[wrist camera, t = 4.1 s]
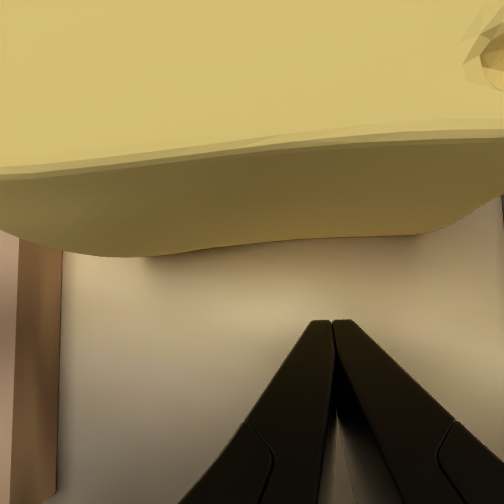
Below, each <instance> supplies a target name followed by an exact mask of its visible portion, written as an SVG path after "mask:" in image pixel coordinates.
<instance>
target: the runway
mask: <svg viewBox="0 0 504 504" xmlns="http://www.w3.org/2000/svg"><path fill="white" fill-rule="evenodd" d="M502 205H503V219H504V194H503V195H502ZM61 274H62V250H59V249H54V248H50V247H46V246H42V245H39V244H35V243H32V242H29V241H26V240H23V239H20V238H18V237H15V236H13V235H11V234H8V233H6V232H4V231H2V230H0V504H41V503H42V502H44V501H45V500H46V499H48V498H49V497H50V496H52V495H53V494H54V493H55V492H56V461H57V424H58V386H59V349H60V311H61Z"/></svg>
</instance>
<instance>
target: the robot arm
mask: <svg viewBox="0 0 504 504" xmlns="http://www.w3.org/2000/svg"><path fill="white" fill-rule="evenodd" d="M337 420H338V426H339V431H340V436H341V440H342V445H343V449H344V454H345V458H346V463H347V467H348V472H349V476H350V481H351V485H352V489H353V494H354V498H355V503H356V504H504V462H502V461H501V460H500V459H499V458H498V457H497V456H496V455H494V454H493V453H492V452H491V451H490V450H489V449H488V448H487V447H486V446H485V445H483V444H482V443H481V442H480V441H479V440H478V439H477V438H476V437H475V436H473V435H472V434H471V433H470V432H469V431H468V430H467V429H466V428H465V427H464V426H463V425H462V424H461V423H460V422H459V421H456V420H455V418H454V417H453V416H452V415H451V414H450V413H449V412H448V411H446V410H445V409H444V408H443V407H442V406H441V405H440V404H439V403H438V402H437V401H436V400H435V399H434V398H433V397H432V396H431V395H430V394H429V393H428V392H427V391H426V390H425V389H424V388H422V387H421V386H420V385H419V384H418V383H417V382H416V381H415V380H414V379H413V378H412V377H411V376H410V375H409V374H408V373H407V372H406V371H405V370H404V369H403V368H402V367H401V366H400V365H399V364H397V363H396V362H395V361H394V360H393V359H392V358H391V357H390V356H389V355H388V354H387V353H386V352H385V351H384V350H383V349H382V348H381V347H380V346H379V345H378V344H377V343H376V342H375V341H374V340H372V339H371V338H370V337H369V336H368V335H367V334H366V333H365V332H364V331H363V330H362V329H361V328H360V327H359V326H358V325H357V324H356V323H355V322H354V321H352V320H350V319H348V320H334V321H332V324H331V322H330V321H329V320H313V321H311V322H310V323H309V325H308V326H307V328H306V329H305V331H304V332H303V334H302V335H301V337H300V338H299V340H298V341H297V343H296V344H295V346H294V347H293V349H292V350H291V352H290V353H289V355H288V356H287V358H286V359H285V361H284V362H283V363H282V365H281V366H280V368H279V369H278V371H277V372H276V374H275V375H274V377H273V378H272V380H271V381H270V383H269V384H268V386H267V387H266V389H265V390H264V392H263V393H262V395H261V396H260V398H259V399H258V401H257V402H256V404H255V405H254V407H253V408H252V409H251V411H250V412H249V414H248V415H247V417H246V418H245V422H242V423H241V425H240V426H239V428H238V429H237V431H236V432H235V434H234V435H233V437H232V438H231V440H230V441H229V442H228V444H227V445H226V446H225V448H224V449H223V450H222V452H221V453H220V455H219V456H218V457H217V459H216V460H215V461H214V462H213V463H212V464H211V466H210V467H209V468H208V469H207V470H206V472H205V473H204V474H203V475H202V476H201V478H200V479H199V480H198V481H197V482H196V483H195V485H194V486H193V487H192V488H191V489H190V490H189V491H188V492H187V494H186V495H185V496H184V497H183V498H182V499H181V500H180V501H179V503H178V504H332V495H333V478H334V462H335V446H336V427H337Z"/></svg>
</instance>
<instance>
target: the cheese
mask: <svg viewBox="0 0 504 504" xmlns="http://www.w3.org/2000/svg"><path fill="white" fill-rule="evenodd" d="M503 194H504V0H0V230H2V231H4V232H6V233H8V234H11V235H13V236H15V237H18V238H20V239H23V240H26V241H29V242H32V243H35V244H39V245H42V246H46V247H50V248H54V249H59V250H63V251H68V252H74V253H79V254H86V255H93V256H101V257H147V256H158V255H168V254H176V253H182V252H188V251H194V250H200V249H207V248H214V247H223V246H233V245H243V244H252V243H262V242H272V241H282V240H294V239H312V238H333V237H363V236H397V235H418V234H423V233H428V232H431V231H435V230H438V229H441V228H443V227H445V226H447V225H450V224H452V223H454V222H456V221H458V220H459V219H461V218H463V217H465V216H467V215H468V214H470V213H472V212H473V211H475V210H476V209H478V208H479V207H481V206H482V205H484V204H485V203H487V202H489V201H490V200H492V199H494V198H496V197H498V196H501V195H503Z"/></svg>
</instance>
